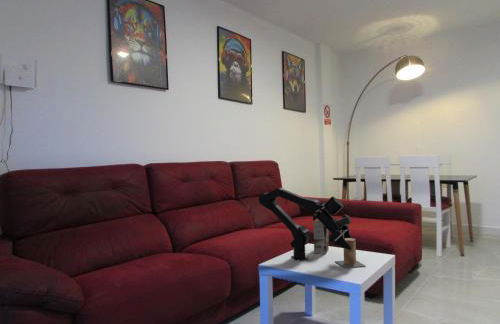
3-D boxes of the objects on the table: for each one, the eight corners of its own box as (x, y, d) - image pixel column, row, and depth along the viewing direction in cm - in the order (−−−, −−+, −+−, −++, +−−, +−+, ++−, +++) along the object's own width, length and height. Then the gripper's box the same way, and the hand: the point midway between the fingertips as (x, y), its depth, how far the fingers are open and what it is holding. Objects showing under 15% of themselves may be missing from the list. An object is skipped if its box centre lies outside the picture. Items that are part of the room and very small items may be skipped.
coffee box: (326, 254, 180) (325, 222, 180) (313, 253, 182) (313, 221, 182) (329, 249, 188) (328, 219, 188) (316, 249, 191) (316, 218, 191)
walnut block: (343, 264, 162) (343, 239, 161) (346, 261, 166) (345, 237, 165) (354, 265, 159) (353, 240, 159) (356, 262, 163) (355, 238, 163)
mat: (335, 262, 167) (335, 261, 167) (354, 260, 168) (354, 259, 168) (344, 268, 157) (344, 267, 157) (365, 266, 159) (365, 265, 159)
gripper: (335, 212, 156) (361, 240, 151) (344, 207, 172) (369, 231, 167) (317, 229, 159) (343, 256, 155) (328, 222, 176) (352, 246, 171)
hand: (352, 247), depth 162 cm, fingers open, 9 cm apart
